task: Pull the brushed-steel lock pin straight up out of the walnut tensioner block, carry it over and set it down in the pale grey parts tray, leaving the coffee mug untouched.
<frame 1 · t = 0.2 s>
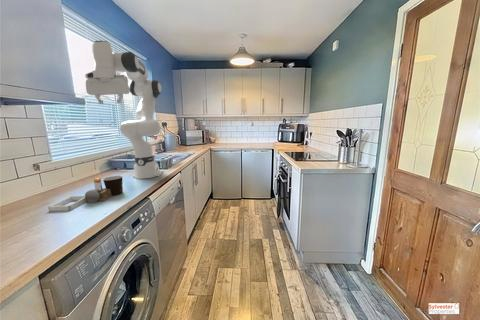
hand: (110, 103, 109), 47 cm above the worktop, fingers open, 8 cm apart
parts tray: (71, 206, 97), on the worktop
tensioner block: (100, 200, 104), on the worktop
lock pin: (100, 198, 104), point 1 cm above the worktop, touching tensioner block
coffee mug: (117, 195, 112), on the worktop, touching tensioner block
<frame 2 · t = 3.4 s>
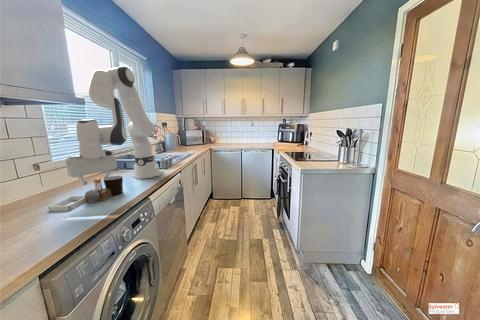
hand: (95, 182, 102), 10 cm above the worktop, fingers open, 8 cm apart
coffee mug: (117, 195, 112), on the worktop, touching gripper, tensioner block
everything else where it was.
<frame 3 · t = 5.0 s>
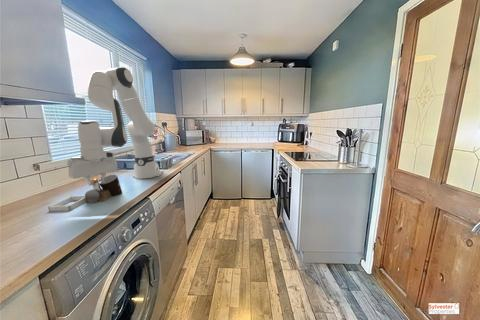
hand: (96, 183, 101), 9 cm above the worktop, fingers open, 3 cm apart
lock pin: (100, 198, 104), point 1 cm above the worktop, tilted 7°, touching coffee mug, gripper, tensioner block
coffee mug: (117, 193, 112), point 1 cm above the worktop, touching gripper, lock pin, tensioner block
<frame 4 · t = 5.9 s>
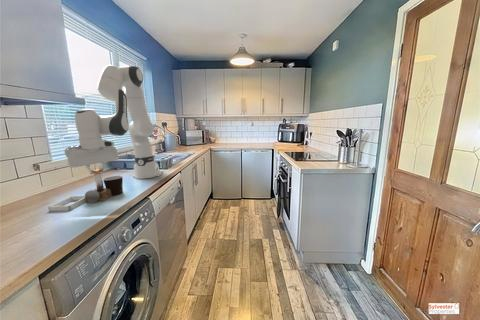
hand: (97, 172, 102), 14 cm above the worktop, fingers closed on lock pin, 3 cm apart
lock pin: (100, 189, 104), point 5 cm above the worktop, touching gripper
coffee mug: (117, 195, 112), on the worktop, touching tensioner block
when the fingers open (9 cm above the worktop, at t = 10.5 s): lock pin stays where it is, resting on parts tray.
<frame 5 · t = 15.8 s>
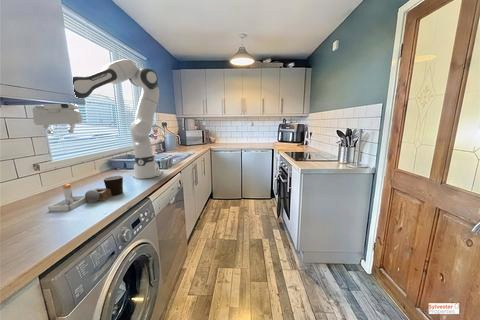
hand: (61, 133, 107), 33 cm above the worktop, fingers open, 8 cm apart
lock pin: (70, 205, 97), point 1 cm above the worktop, touching parts tray
everything else where it was.
at the end: lock pin inside the target area on the parts tray (0.3 cm from its centre), point 0.6 cm above the parts tray's base; the gripper is holding nothing; lock pin touching parts tray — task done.
